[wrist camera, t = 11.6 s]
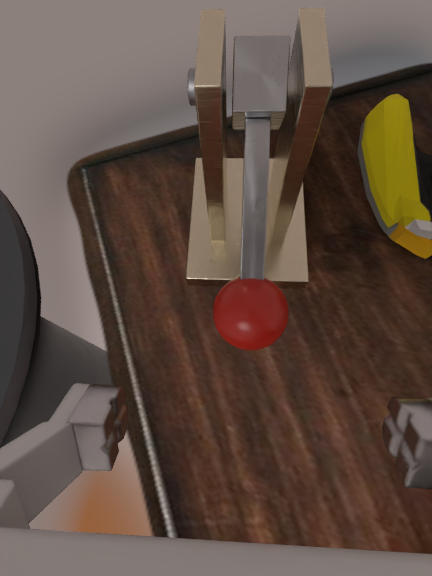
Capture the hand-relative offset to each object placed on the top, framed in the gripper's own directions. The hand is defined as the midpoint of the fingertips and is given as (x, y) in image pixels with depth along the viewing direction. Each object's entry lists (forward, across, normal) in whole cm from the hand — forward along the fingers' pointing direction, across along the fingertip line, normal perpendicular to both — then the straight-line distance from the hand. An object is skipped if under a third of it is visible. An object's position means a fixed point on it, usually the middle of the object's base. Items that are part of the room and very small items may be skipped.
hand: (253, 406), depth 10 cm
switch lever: (+9, 0, -4) cm, 10 cm away
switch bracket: (+17, 0, -2) cm, 17 cm away
